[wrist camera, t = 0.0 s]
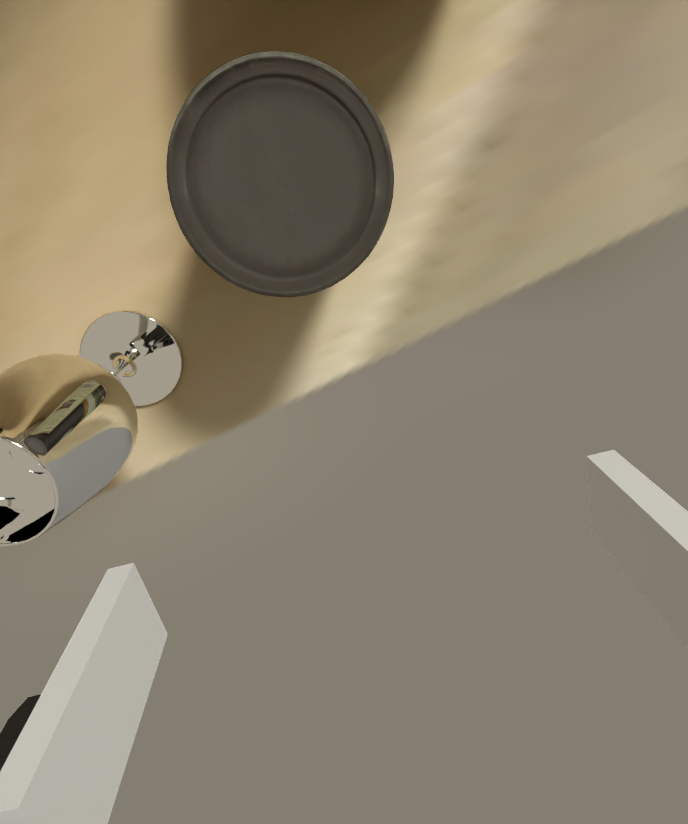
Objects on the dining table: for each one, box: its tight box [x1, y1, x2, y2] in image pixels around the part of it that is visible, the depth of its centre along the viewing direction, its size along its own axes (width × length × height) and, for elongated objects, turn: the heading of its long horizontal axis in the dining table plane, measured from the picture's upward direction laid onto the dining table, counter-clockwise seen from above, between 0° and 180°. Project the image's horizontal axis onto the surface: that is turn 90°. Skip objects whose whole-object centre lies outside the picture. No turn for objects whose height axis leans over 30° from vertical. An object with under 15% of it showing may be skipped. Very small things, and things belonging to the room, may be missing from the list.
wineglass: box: [0, 310, 182, 546], centre depth 32 cm, size 8×8×20 cm
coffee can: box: [167, 51, 394, 297], centre depth 31 cm, size 10×10×14 cm
